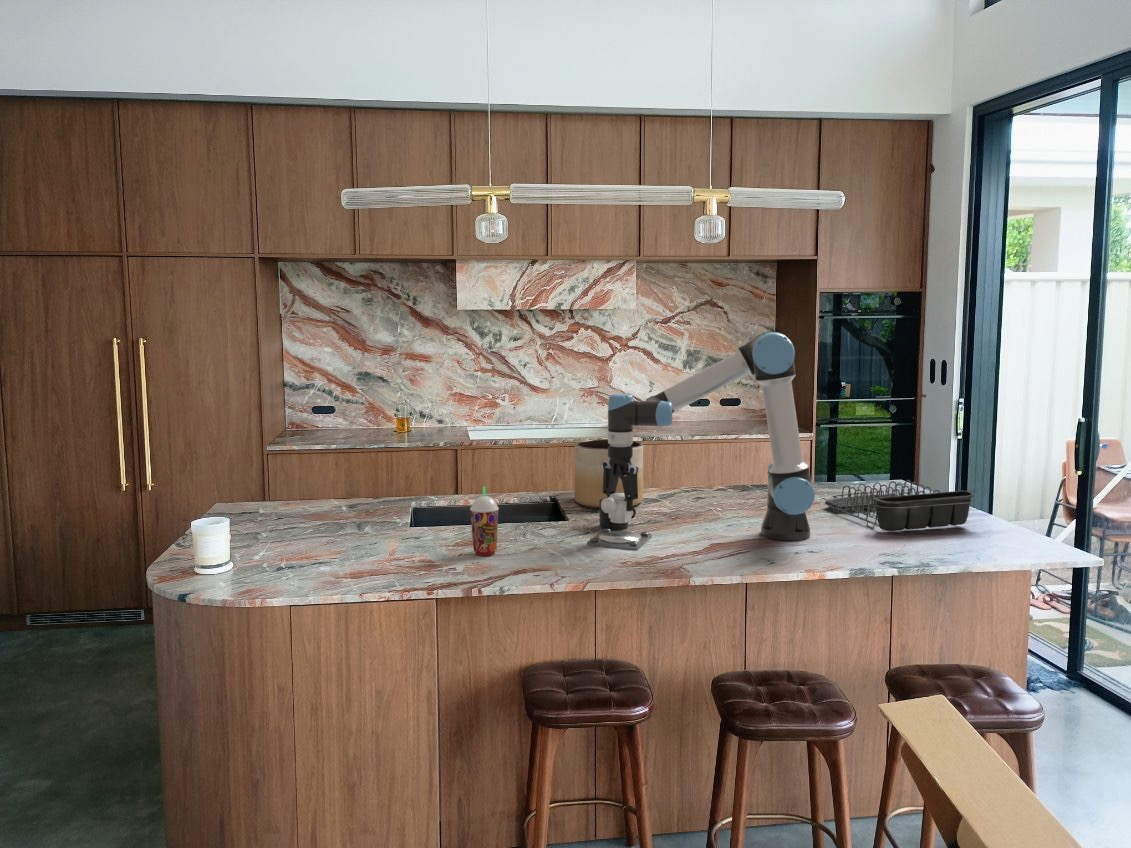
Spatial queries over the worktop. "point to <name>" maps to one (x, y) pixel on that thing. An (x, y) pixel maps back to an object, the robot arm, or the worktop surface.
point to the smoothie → (484, 525)
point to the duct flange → (619, 539)
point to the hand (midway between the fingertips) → (619, 519)
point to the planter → (600, 471)
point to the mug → (606, 523)
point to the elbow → (614, 507)
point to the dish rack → (906, 507)
